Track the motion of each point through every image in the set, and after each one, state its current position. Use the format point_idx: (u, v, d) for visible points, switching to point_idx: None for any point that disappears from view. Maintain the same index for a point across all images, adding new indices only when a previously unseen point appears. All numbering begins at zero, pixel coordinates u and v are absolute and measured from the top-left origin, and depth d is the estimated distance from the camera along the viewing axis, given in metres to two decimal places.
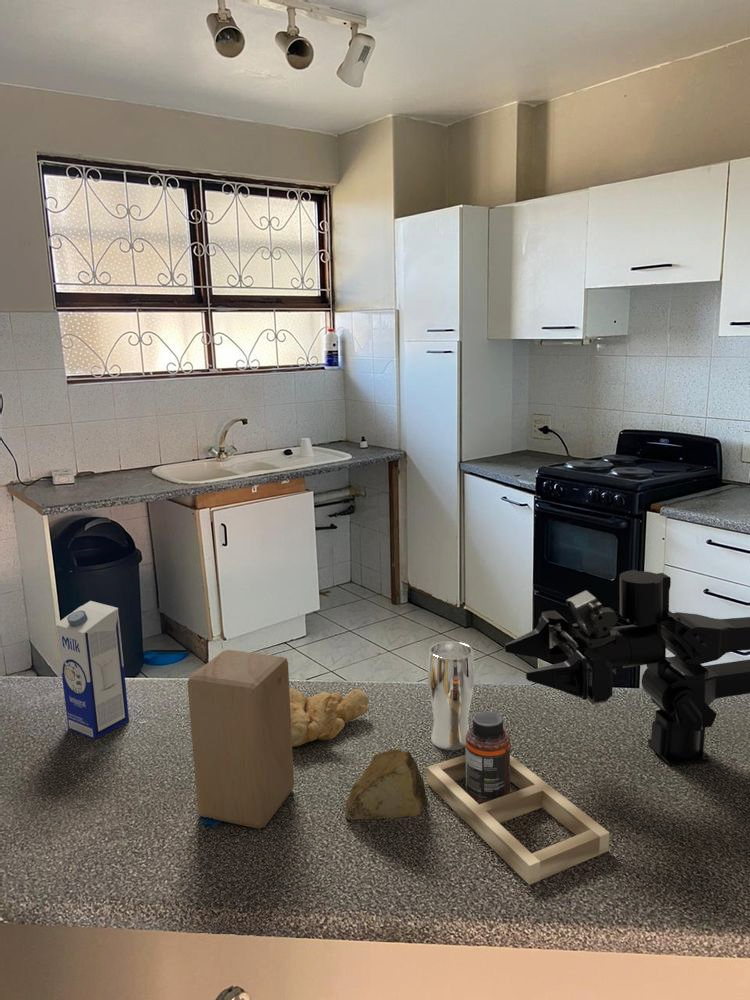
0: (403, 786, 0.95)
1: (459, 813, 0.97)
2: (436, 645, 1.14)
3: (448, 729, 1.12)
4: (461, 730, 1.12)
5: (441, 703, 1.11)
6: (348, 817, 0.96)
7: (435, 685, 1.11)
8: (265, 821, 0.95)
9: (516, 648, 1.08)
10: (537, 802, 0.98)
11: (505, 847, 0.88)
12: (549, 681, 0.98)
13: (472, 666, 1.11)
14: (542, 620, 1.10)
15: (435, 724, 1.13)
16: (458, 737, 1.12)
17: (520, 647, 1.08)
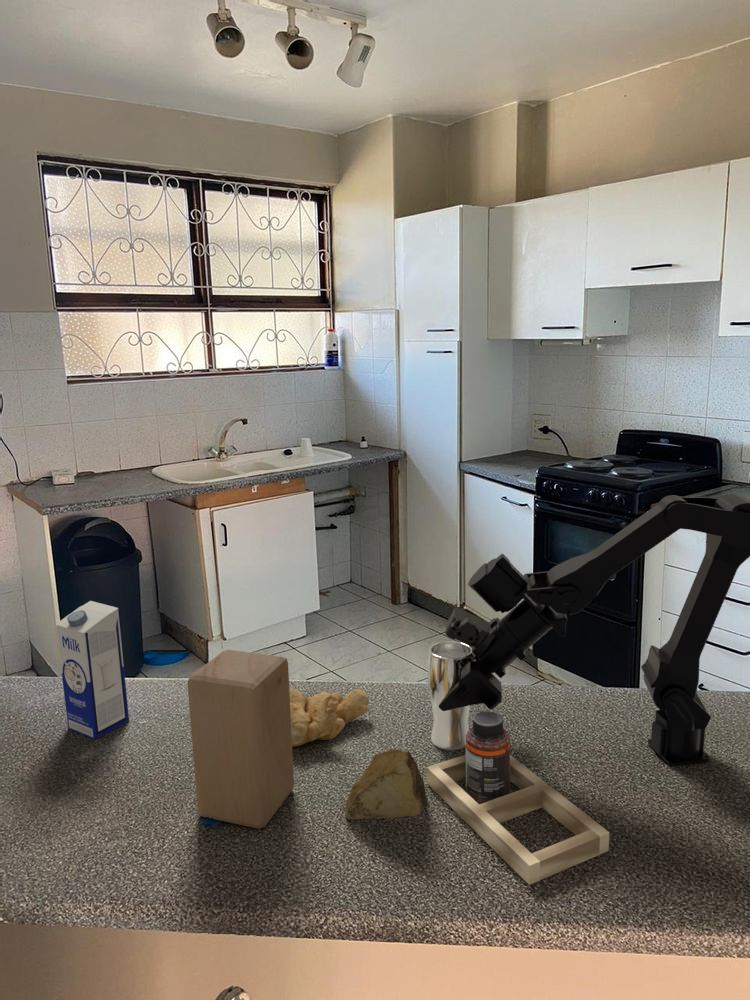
0: (403, 786, 0.95)
1: (459, 813, 0.97)
2: (436, 645, 1.14)
3: (448, 729, 1.12)
4: (461, 730, 1.12)
5: None
6: (348, 817, 0.96)
7: (435, 685, 1.11)
8: (265, 821, 0.95)
9: None
10: (537, 802, 0.98)
11: (505, 847, 0.88)
12: (457, 703, 1.09)
13: None
14: None
15: (435, 724, 1.13)
16: (458, 737, 1.12)
17: None
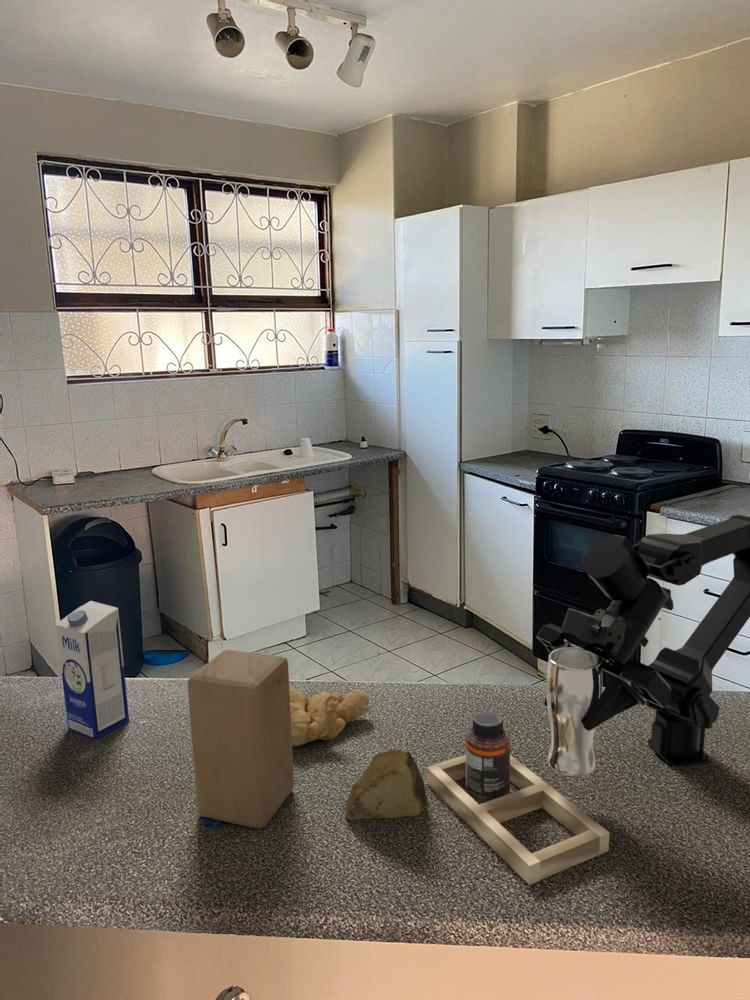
0: (403, 786, 0.95)
1: (459, 813, 0.97)
2: None
3: (585, 750, 0.95)
4: (592, 746, 0.97)
5: (582, 722, 0.93)
6: (348, 817, 0.96)
7: (576, 704, 0.93)
8: (265, 821, 0.95)
9: None
10: (537, 802, 0.98)
11: (505, 847, 0.88)
12: (606, 715, 0.93)
13: None
14: None
15: (566, 750, 0.95)
16: (592, 755, 0.96)
17: None
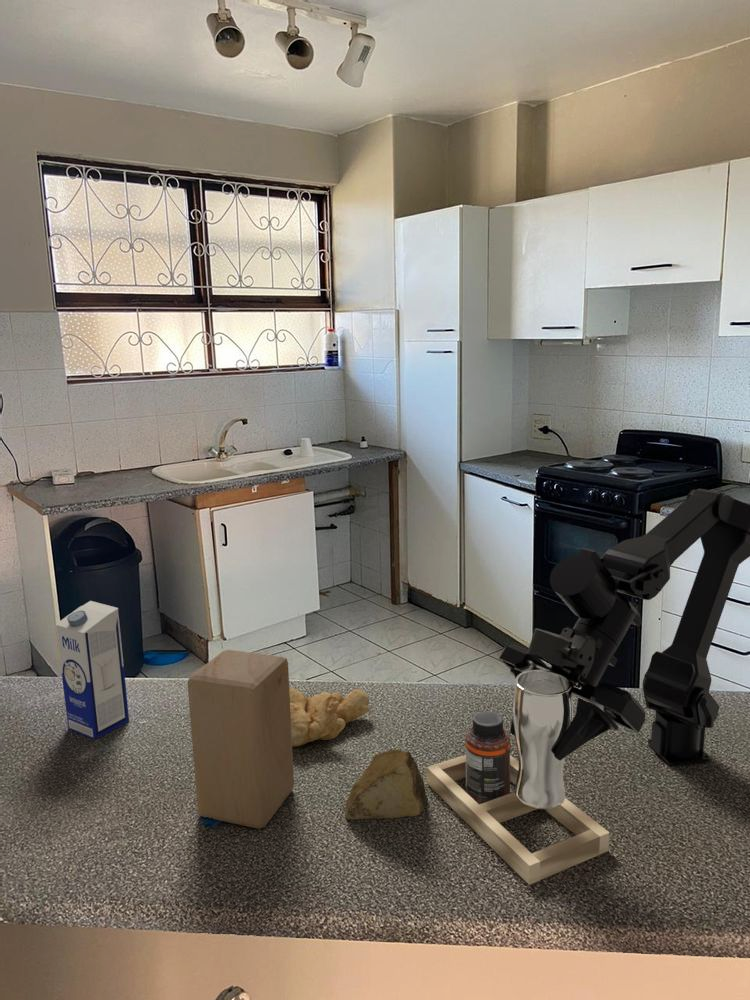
0: (403, 786, 0.95)
1: (459, 813, 0.97)
2: (517, 683, 0.88)
3: (555, 780, 0.88)
4: (562, 775, 0.90)
5: (552, 751, 0.87)
6: (348, 817, 0.96)
7: (546, 732, 0.86)
8: (265, 821, 0.95)
9: None
10: None
11: (505, 847, 0.88)
12: (578, 743, 0.87)
13: None
14: (517, 674, 0.93)
15: (535, 782, 0.88)
16: (562, 785, 0.90)
17: None
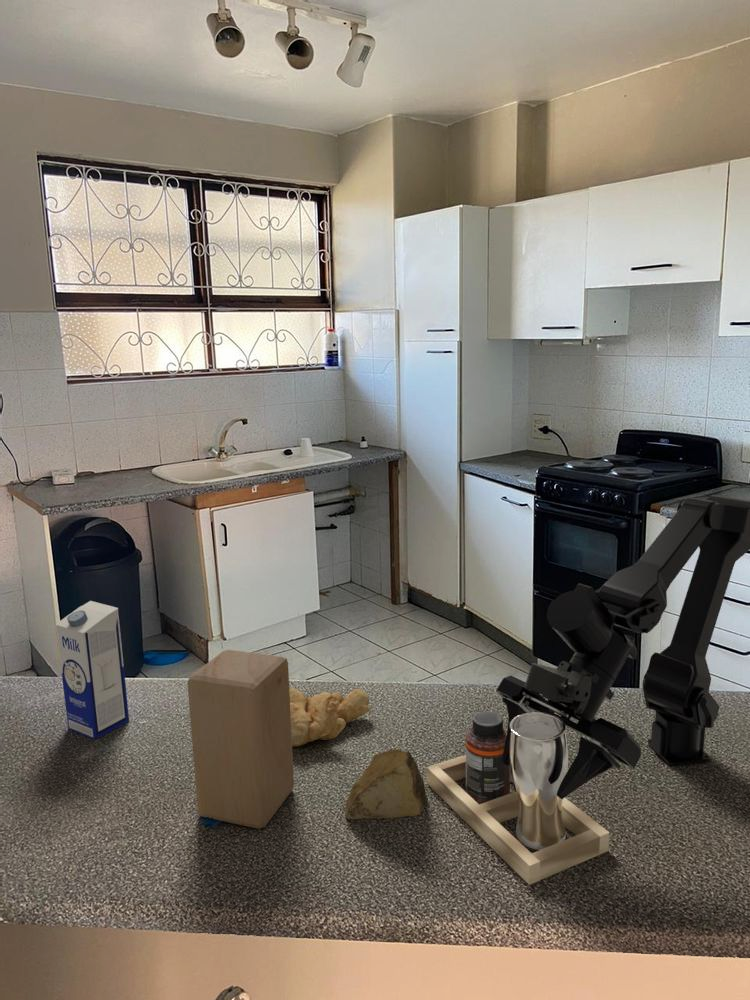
0: (403, 786, 0.95)
1: (459, 813, 0.97)
2: None
3: (555, 822, 0.90)
4: None
5: (550, 794, 0.88)
6: (348, 817, 0.96)
7: (542, 776, 0.87)
8: (265, 821, 0.95)
9: None
10: None
11: (505, 847, 0.88)
12: (580, 782, 0.87)
13: None
14: (509, 704, 0.95)
15: (535, 824, 0.90)
16: (562, 825, 0.91)
17: None
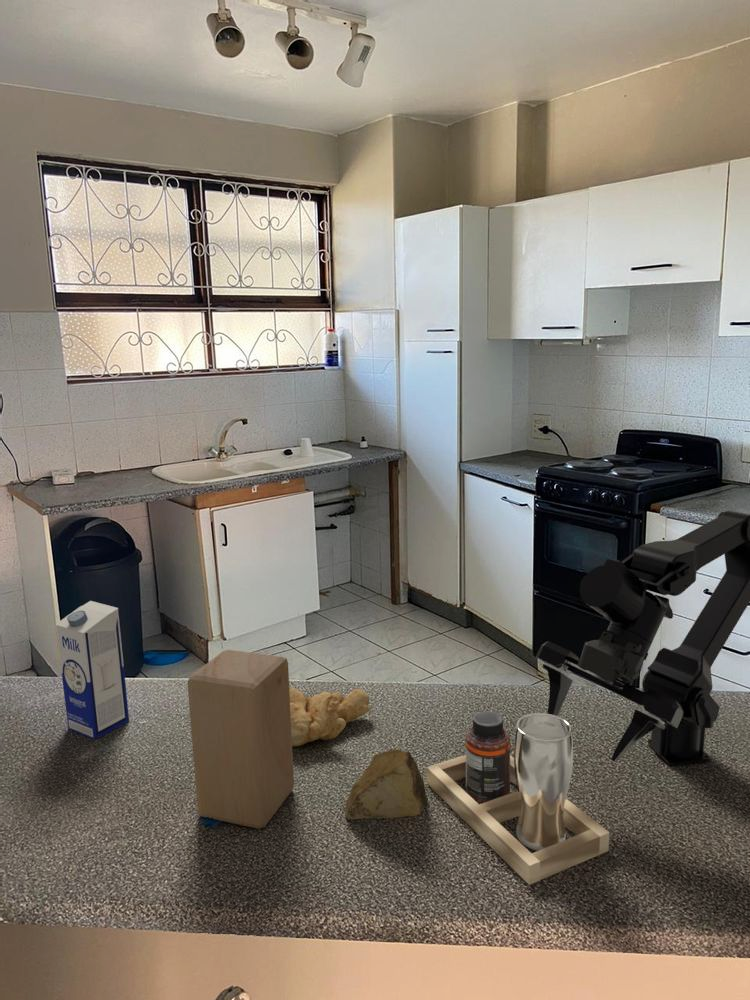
0: (403, 786, 0.95)
1: (459, 813, 0.97)
2: None
3: (556, 823, 0.90)
4: (563, 818, 0.91)
5: (553, 795, 0.88)
6: (348, 817, 0.96)
7: (547, 776, 0.87)
8: (265, 821, 0.95)
9: None
10: None
11: (505, 847, 0.88)
12: (631, 745, 0.94)
13: None
14: (551, 671, 0.99)
15: (536, 824, 0.90)
16: (563, 828, 0.91)
17: (556, 710, 1.00)
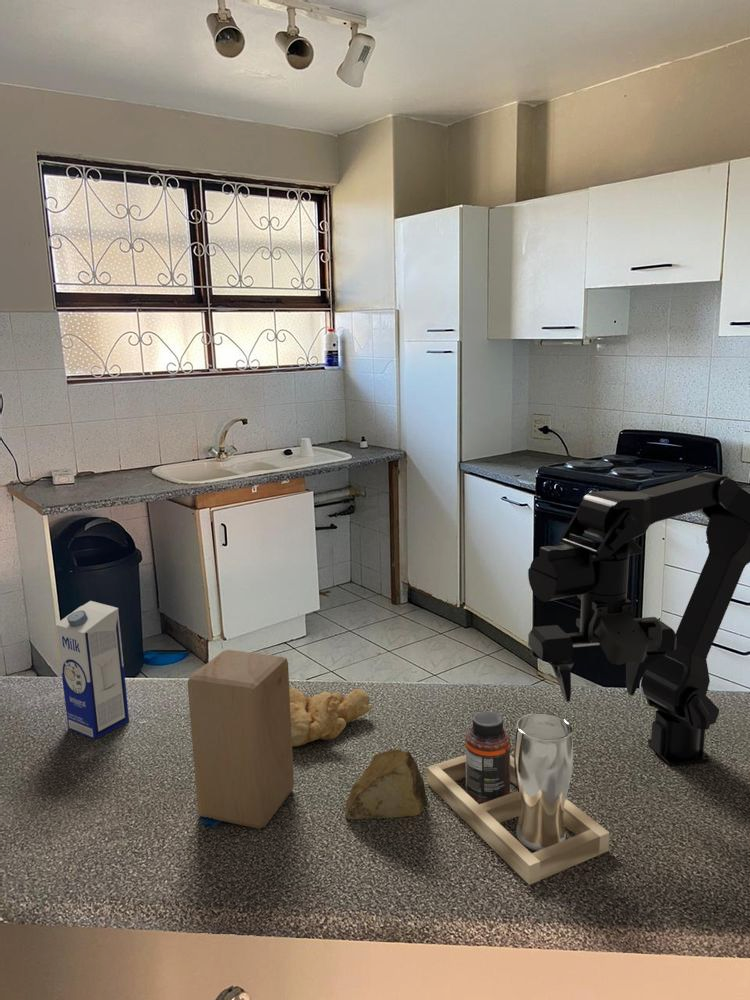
0: (403, 786, 0.95)
1: (459, 813, 0.97)
2: None
3: (556, 823, 0.90)
4: (563, 818, 0.91)
5: (553, 795, 0.88)
6: (348, 817, 0.96)
7: (547, 776, 0.87)
8: (265, 821, 0.95)
9: None
10: None
11: (505, 847, 0.88)
12: None
13: None
14: (564, 665, 0.97)
15: (536, 824, 0.90)
16: (563, 828, 0.91)
17: None
